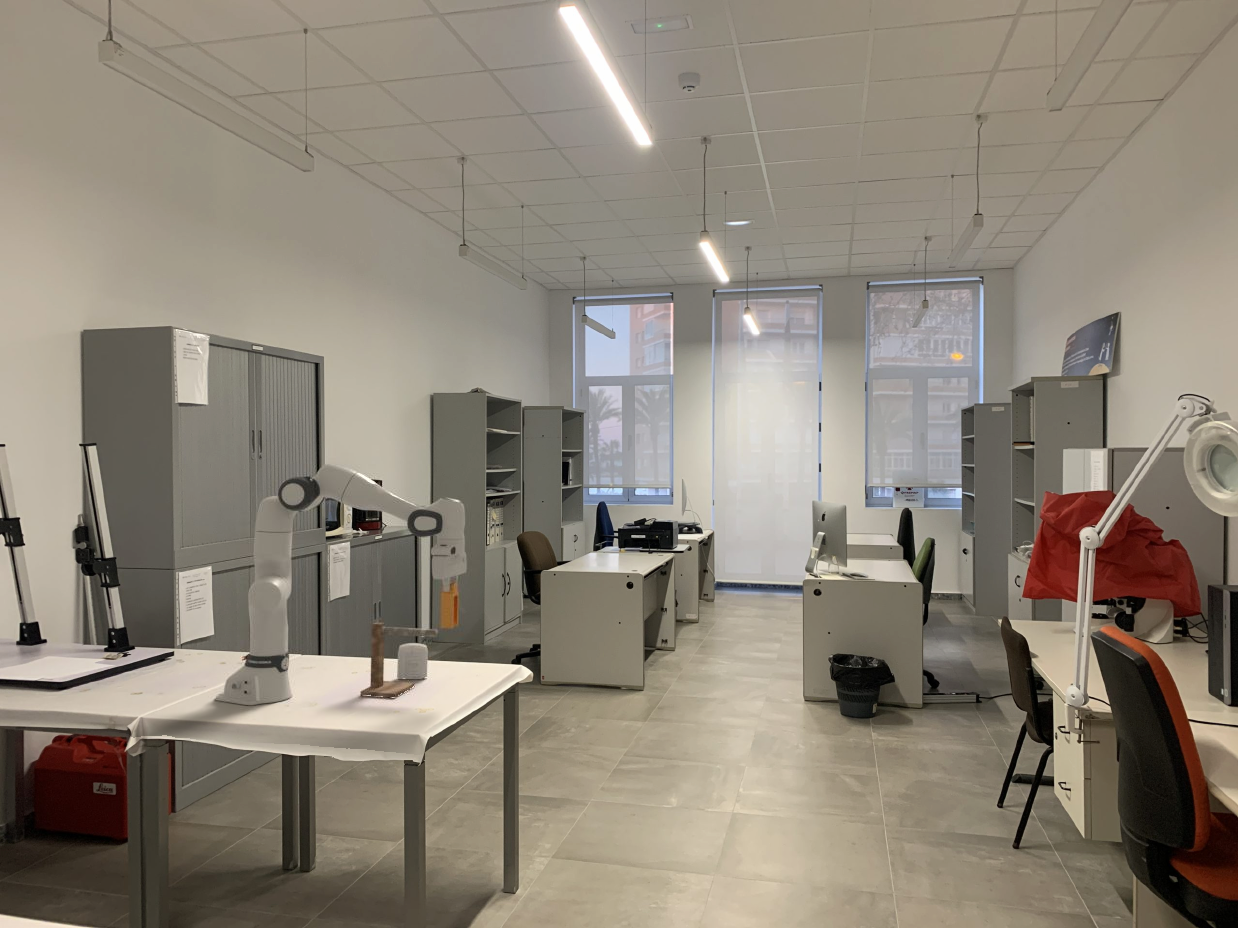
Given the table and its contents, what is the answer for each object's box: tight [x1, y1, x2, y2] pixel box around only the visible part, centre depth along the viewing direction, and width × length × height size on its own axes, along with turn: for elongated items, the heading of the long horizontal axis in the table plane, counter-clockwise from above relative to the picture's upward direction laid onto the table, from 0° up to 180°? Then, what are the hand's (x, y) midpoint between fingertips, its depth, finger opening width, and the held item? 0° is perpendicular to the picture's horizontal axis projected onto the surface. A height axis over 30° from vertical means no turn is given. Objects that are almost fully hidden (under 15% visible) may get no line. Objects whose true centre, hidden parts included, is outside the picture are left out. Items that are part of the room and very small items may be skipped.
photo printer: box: [396, 642, 429, 680], centre depth 281 cm, size 10×4×12 cm, turn 98°
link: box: [440, 581, 460, 629], centre depth 259 cm, size 4×5×14 cm
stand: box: [360, 621, 439, 698], centre depth 262 cm, size 22×14×22 cm, turn 79°
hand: (450, 590), depth 259 cm, fingers closed on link, 3 cm apart
